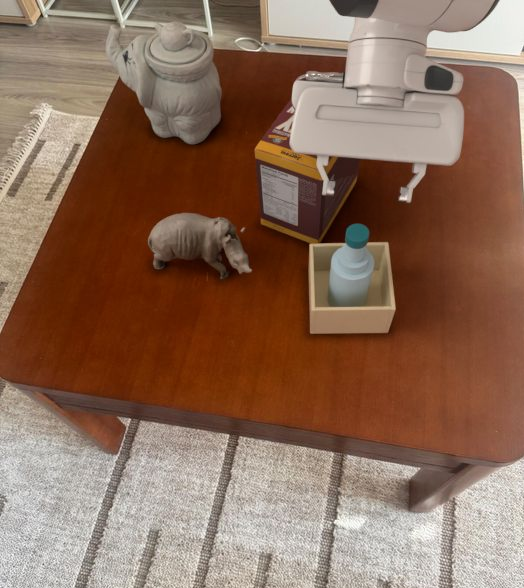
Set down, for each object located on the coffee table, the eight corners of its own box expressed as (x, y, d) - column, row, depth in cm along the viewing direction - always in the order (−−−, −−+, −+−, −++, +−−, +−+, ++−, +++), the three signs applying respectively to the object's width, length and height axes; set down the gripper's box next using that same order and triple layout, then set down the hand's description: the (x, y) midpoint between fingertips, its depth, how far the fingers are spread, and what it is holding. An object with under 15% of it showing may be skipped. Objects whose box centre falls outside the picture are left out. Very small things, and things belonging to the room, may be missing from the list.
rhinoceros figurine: (149, 217, 83) (184, 175, 70) (223, 258, 89) (268, 226, 76) (131, 259, 80) (165, 223, 68) (209, 298, 86) (253, 272, 73)
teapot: (124, 111, 98) (88, 8, 82) (196, 82, 101) (176, -24, 84) (160, 166, 92) (129, 66, 75) (236, 133, 94) (223, 28, 77)
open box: (381, 269, 79) (388, 241, 74) (387, 332, 75) (395, 309, 69) (308, 270, 80) (309, 243, 74) (310, 333, 75) (311, 310, 69)
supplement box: (358, 180, 88) (370, 98, 74) (318, 247, 82) (323, 172, 68) (302, 161, 90) (303, 78, 76) (259, 224, 85) (253, 148, 71)
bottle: (364, 282, 78) (379, 213, 65) (367, 314, 75) (383, 250, 62) (326, 283, 78) (333, 214, 65) (328, 315, 76) (335, 251, 62)
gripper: (291, 64, 59) (280, 192, 64) (478, 77, 57) (453, 208, 62) (295, 73, 65) (285, 190, 70) (465, 85, 63) (443, 204, 68)
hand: (365, 198), depth 66 cm, fingers open, 8 cm apart
